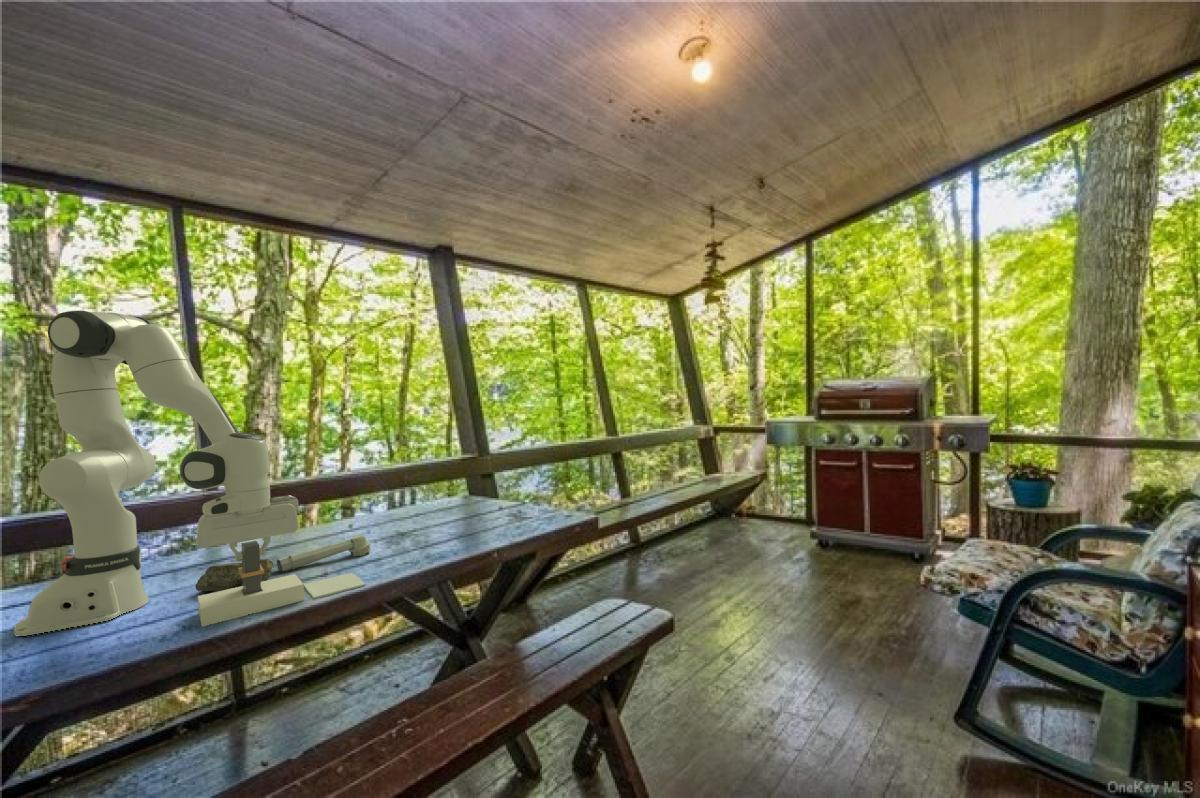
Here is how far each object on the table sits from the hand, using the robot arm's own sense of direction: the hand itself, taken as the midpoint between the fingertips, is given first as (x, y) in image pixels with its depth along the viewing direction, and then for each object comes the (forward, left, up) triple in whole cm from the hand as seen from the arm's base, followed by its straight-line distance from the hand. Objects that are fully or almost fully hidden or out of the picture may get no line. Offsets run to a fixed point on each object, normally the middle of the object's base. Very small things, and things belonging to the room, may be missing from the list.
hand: (250, 558), depth 124 cm
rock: (-1, +21, -12) cm, 24 cm away
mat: (+18, 0, -12) cm, 21 cm away
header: (0, 0, -12) cm, 12 cm away
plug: (0, 0, -8) cm, 8 cm away
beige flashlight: (+22, +24, -12) cm, 35 cm away
